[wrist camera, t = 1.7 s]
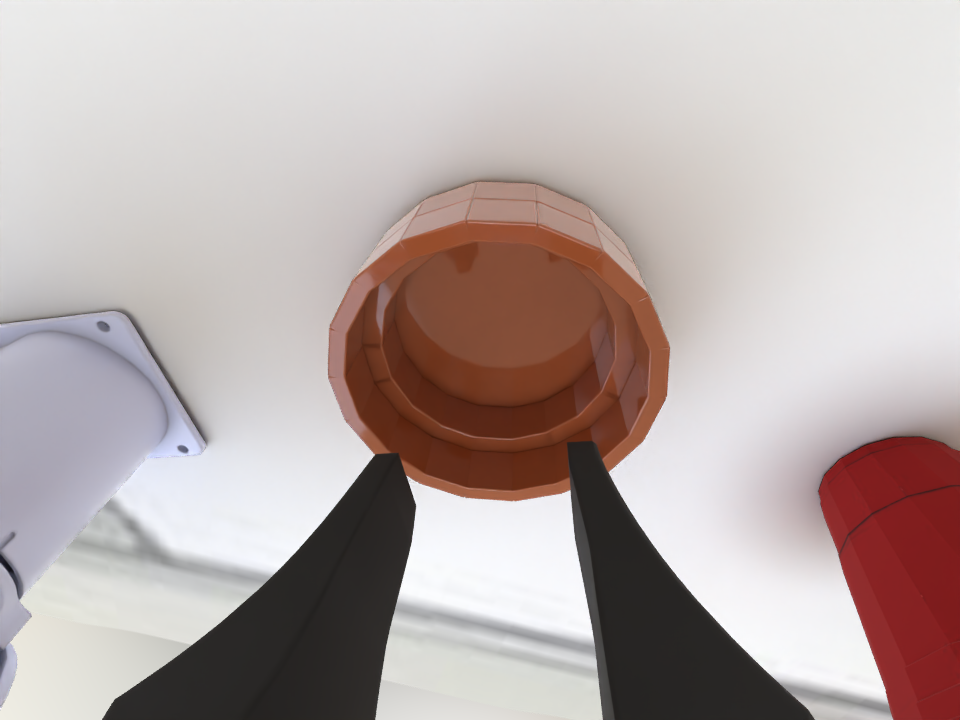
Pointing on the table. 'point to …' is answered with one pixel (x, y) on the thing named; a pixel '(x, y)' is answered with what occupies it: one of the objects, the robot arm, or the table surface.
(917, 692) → the plastic cup
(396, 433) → the bowl
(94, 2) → the table surface
